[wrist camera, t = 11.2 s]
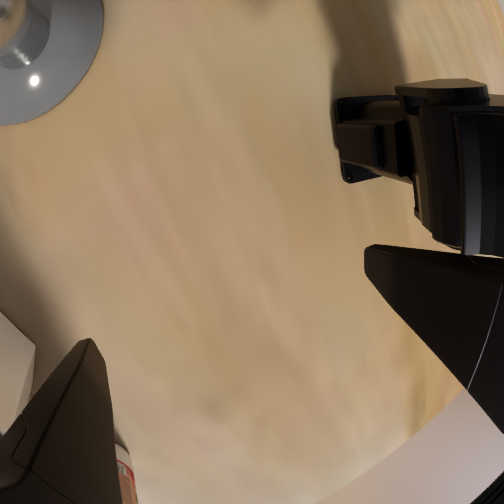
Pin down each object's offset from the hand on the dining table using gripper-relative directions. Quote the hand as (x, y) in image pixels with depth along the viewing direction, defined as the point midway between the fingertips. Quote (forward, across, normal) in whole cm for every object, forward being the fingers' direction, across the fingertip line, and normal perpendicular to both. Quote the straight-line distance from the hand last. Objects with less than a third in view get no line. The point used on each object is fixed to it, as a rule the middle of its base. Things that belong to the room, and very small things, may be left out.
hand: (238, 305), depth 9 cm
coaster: (+12, +8, -14) cm, 20 cm away
